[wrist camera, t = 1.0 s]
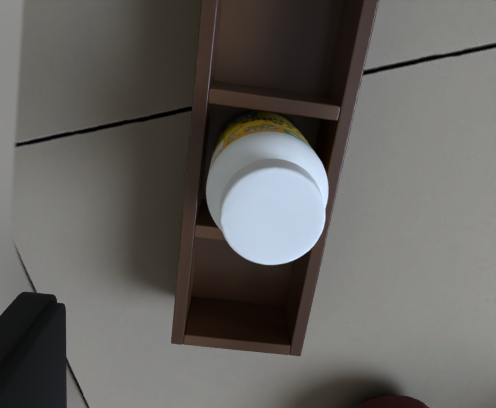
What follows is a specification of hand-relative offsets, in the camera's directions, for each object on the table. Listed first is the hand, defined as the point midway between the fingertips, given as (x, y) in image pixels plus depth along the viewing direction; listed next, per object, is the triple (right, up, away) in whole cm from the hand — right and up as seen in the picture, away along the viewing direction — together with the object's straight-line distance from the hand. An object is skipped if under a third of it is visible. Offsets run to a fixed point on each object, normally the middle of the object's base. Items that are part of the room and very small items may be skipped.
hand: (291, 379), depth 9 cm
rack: (0, +7, +17) cm, 18 cm away
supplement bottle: (0, +6, +16) cm, 18 cm away
